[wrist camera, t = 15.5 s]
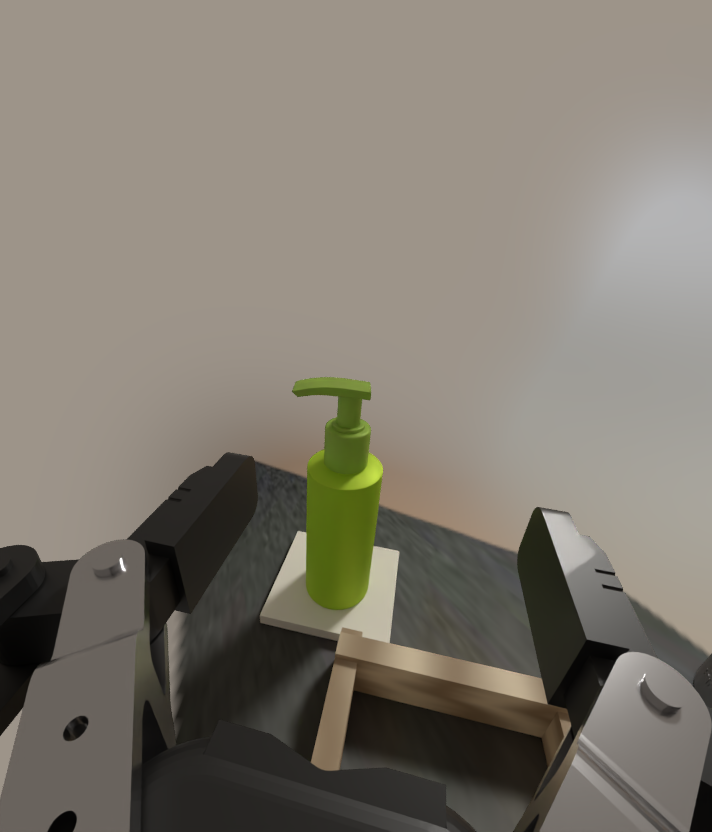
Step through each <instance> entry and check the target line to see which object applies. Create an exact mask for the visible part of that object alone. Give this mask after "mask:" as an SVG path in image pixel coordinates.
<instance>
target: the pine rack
mask: <svg viewBox="0 0 712 832" xmlns="http://www.w3.org/2000/svg"><path fill="white" fill-rule="evenodd" d="M362 634H363V632H361V631H357V630H352V629H348V628H344V627H342V630H341V632H340V636H339V640H338V645H337V649H336V653H335V660H334V665H333V669H332V673H331V678H330V682H329V686H328V691H327V695H326V699H325V704H324V708H323V712H322V717H321V721H320V725H319V729H318V734H317V738H316V742H315V747H314V751H313V755H312V760H311V763H312V764H314V765H315V766H317V767H318V768H320V769H322V770H327V771H333V770H340V766H341V760H342V755H343V749H344V743H345V737H346V732H347V726H348V720H349V714H350V709H351V703H352V697H353V691H358V692H362V693H366V694H370V695H374V696H378V697H382V698H386V699H390V700H394V701H398V702H402V703H406V704H410V705H414V706H418V707H422V708H426V709H430V710H433V711H437V712H441V713H445V714H449V715H453V716H457V717H461V718H465V719H469V720H473V721H477V722H481V723H485V724H489V725H493V726H497V727H501V728H505V729H509V730H513V731H517V732H521V733H525V734H529V735H533V736H537V737H541V738H542V742H543V747H544V752H545V756H546V761H547V766H548V767H549V765H550V763H551V761H552V759H553V757H554V755H555V753H556V751H557V749H558V747H559V745H560V743H561V742H562V740H563V738H564V736H565V734H566V732H567V730H568V729H569V727H570V726H571V723H570V719H569V715H568V711H567V709H565V708H560V707H556V706H552V705H548V704H547V699H546V695H545V690H544V686H543V681H542V678H537V677H533V676H529V675H524V674H520V673H516V672H511V671H507V670H503V669H498V668H494V667H490V666H486V665H481V664H477V663H473V662H468V661H464V660H460V659H455V658H451V657H447V656H442V655H438V654H434V653H430V652H425V651H421V650H417V649H412V648H408V647H404V646H399V645H395V644H391V643H386V642H382V641H378V640H374V639H369V638H365V637H362Z"/></svg>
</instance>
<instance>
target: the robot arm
mask: <svg viewBox="0 0 712 832" xmlns="http://www.w3.org/2000/svg"><path fill="white" fill-rule="evenodd" d="M257 501H258V493H257V481H256V469H255V461H254V458H253V457H252V456H247V455H241V454H235V453H229V452H228V453H226V454H224V455H223V456H222V457H221V458H220V459H219V460H218V462H217V463H216V464H215V465H214V466H213V467H211V466H206V467H204V468H202V469H200V470H199V471H197V472H195V473H193V474H191V475H190V476H189V477H188V478H187V479H186V480H185V481H184V482H183V483H182V484H181V485H180V486H179V488H178V490H175V491H174V492H173V493H172V494H171V495H170V496H169V498H168V500H165V501H164V502H163V503H162V504H161V505H160V506H159V507H158V508H157V509H156V510H155V511H154V512H153V513H152V514H151V515H150V516H149V517H148V518H147V519H146V520H145V522H143V523H142V524H141V525H140V527H138V529H136V531H135V532H134V533H133V534H132V535H131V536H130V537H129V538H128V539H126V540H124V539H123V540H116V541H111V542H107V543H105V544H102V545H100V546H98V547H96V548H94V549H92V550H91V551H89V552H87V554H85V555H84V556H82V557H81V558H80V559H79V560H66V561H52V562H41V560H40V558H39V556H38V554H37V552H36V551H35V549H34V548H31V547H29V546H25V545H14V546H7V547H3V548H0V736H1V734H2V733H3V732H4V731H5V729H6V728H7V727H8V726H9V724H10V723H11V722H12V721H13V719H14V718H15V717H16V716H17V714H18V713H19V712H20V711H21V709H22V708H23V710H22V715H21V718H20V723H19V726H18V730H17V734H16V738H15V743H14V746H13V750H12V754H11V758H10V762H9V766H8V770H7V774H6V778H5V783H4V787H3V790H2V794H1V798H0V832H476V831H475V830H474V829H473V827H472V826H471V825H470V824H469V823H468V822H466V821H465V820H464V819H463V818H462V817H461V816H460V815H458V814H457V813H456V812H455V811H453V810H452V809H451V808H449V807H448V806H446V785H445V784H441V783H438V782H434V781H431V780H427V779H424V778H421V777H417V776H414V775H410V774H407V773H403V772H400V771H396V770H393V769H389V768H369V769H351V770H333V771H327V770H322V769H320V768H318V767H317V766H315V765H314V764H312V763H311V762H309V761H308V760H307V759H305V758H304V757H302V756H301V755H300V754H298V753H297V752H295V751H294V750H293V749H291V748H290V747H288V746H287V745H286V744H284V743H283V742H281V741H280V740H279V739H277V738H276V737H274V736H273V735H272V734H269V733H265V732H262V731H258V730H255V729H251V728H248V727H245V726H241V725H238V724H234V723H231V722H227V721H224V720H220V719H219V721H218V723H217V725H216V728H215V730H214V732H213V734H212V737H204V738H199V739H195V740H190V741H187V742H185V743H182V744H179V745H176V739H175V730H174V723H173V718H172V712H171V703H170V682H169V656H168V633H167V632H168V631H167V624H166V622H167V620H168V619H169V618H170V616H171V614H172V613H173V612H174V610H176V611H181V612H185V613H189V614H191V613H192V611H193V609H194V608H195V606H196V605H197V603H198V602H199V600H200V598H201V597H202V595H203V594H204V592H205V591H206V589H207V587H208V586H209V584H210V583H211V581H212V580H213V578H214V576H215V575H216V573H217V572H218V570H219V569H220V567H221V565H222V564H223V562H224V561H225V559H226V558H227V556H228V555H229V553H230V551H231V550H232V548H233V547H234V545H235V544H236V542H237V540H238V539H239V537H240V536H241V534H242V533H243V531H244V529H245V528H246V526H247V525H248V523H249V522H250V520H251V518H252V517H253V515H254V513H255V510H256V506H257ZM517 565H518V573H519V577H520V582H521V586H522V591H523V596H524V600H525V605H526V609H527V614H528V618H529V623H530V627H531V632H532V636H533V641H534V645H535V650H536V654H537V659H538V663H539V668H540V672H541V677H542V681H543V686H544V690H545V695H546V699H547V704H548V705H552V706H556V707H560V708H565V709H567V711H568V715H569V719H570V723H571V726H570V727H569V729H568V730H567V732H566V734H565V736H564V738H563V740H562V742H561V743H560V745H559V747H558V749H557V751H556V753H555V755H554V757H553V759H552V761H551V763H550V765H549V767H548V769H547V771H546V772H545V774H544V776H543V778H542V780H541V782H540V784H539V786H538V788H537V790H536V792H535V794H534V796H533V798H532V800H531V801H530V803H529V805H528V807H527V809H526V811H525V812H524V814H523V816H522V818H521V819H520V821H519V822H518V824H517V826H516V827H515V829H514V831H513V832H712V654H711V655H710V656H709V657H708V658H707V659H706V661H705V662H704V663H703V664H702V665H701V666H700V668H699V669H698V670H697V672H696V674H695V677H694V687H693V686H692V685H691V684H690V683H689V682H688V681H687V680H686V679H685V678H684V677H683V676H682V675H681V674H680V673H679V672H677V671H676V670H675V669H673V668H672V667H671V666H669V665H668V664H666V663H664V662H663V661H661V660H659V659H658V657H657V655H656V653H655V651H654V649H653V647H652V645H651V643H650V641H649V639H648V637H647V635H646V633H645V631H644V629H643V627H642V625H641V623H640V621H639V619H638V617H637V615H636V613H635V611H634V609H633V607H632V605H631V603H630V601H629V599H628V597H627V595H626V593H624V592H623V587H622V585H621V583H620V581H619V579H618V577H617V576H615V571H614V569H613V567H612V565H611V563H610V561H609V559H608V557H607V555H606V553H605V552H604V551H603V550H602V549H601V548H600V547H599V546H598V545H597V544H596V543H595V542H594V541H593V540H592V539H591V538H590V537H589V536H585V535H579V533H578V530H577V528H576V526H575V524H574V521H573V519H572V517H571V515H570V514H569V513H568V512H563V511H557V510H552V509H546V508H540V507H537V508H535V510H534V511H533V513H532V516H531V518H530V521H529V523H528V526H527V529H526V532H525V534H524V537H523V539H522V542H521V545H520V547H519V551H518V559H517Z"/></svg>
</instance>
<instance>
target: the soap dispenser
mask: <svg viewBox="0 0 712 832" xmlns="http://www.w3.org/2000/svg"><path fill="white" fill-rule="evenodd" d="M292 392H293V393H294V394H295V395H296V396H297V397H301V396H308V395H329V396H338V413H337V417H336V418H333V419H331V420H330V421H328V422H327V423H326V426H325V447H324V450H321V451H319V452H318V453H316V454H314V455H313V456H312V457H311V458H310V460H309V462H308V466H307V531H306V588H307V591H308V594H309V595H310V597H311V598H312V599H313V600H314V601H315V602H316V603H317V604H319V605H320V606H322V607H324V608H327V609H332V610H343V609H348V608H351V607H353V606H355V605H356V604H358V603H359V602H360V601H361V600H362V599H363V598H364V596H365V595H366V593H367V590H368V585H369V577H370V570H371V562H372V554H373V546H374V538H375V530H376V522H377V514H378V506H379V498H380V490H381V482H382V475H383V467H382V465H381V462H380V461H379V460H378V459H377V458H376V457H375V456H374V455H372V454H371V453H369V444H370V434H371V428H370V425H369V424H368V423H367V422H366V421H364V420H362V419H360V417H361V406H362V399H365V400H370V399H371V386H370V382H365V381H358V380H352V379H345V378H334V377H320V378H310V379H305V380H300V381H297V382H296V383H295V385H294V388H293V390H292Z"/></svg>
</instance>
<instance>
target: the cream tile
mask: <svg viewBox="0 0 712 832" xmlns="http://www.w3.org/2000/svg"><path fill="white" fill-rule="evenodd" d="M398 558H399V551H396V550H391V549H386V548H381V547H376V546H373V554H372V562H371V570H370V577H369V585H368V590H367V593H366V595H365V596H364V598H363V599H362V600H361V601H360V602H359V603H358V604H356V605H355V606H353V607H351V608H348V609H343V610H332V609H327V608H324V607H322V606H320V605H319V604H317V603H316V602H315V601H314V600H313V599H312V598H311V597H310V595H309V594H308V591H307V588H306V533H305V532H300V531H298V532H297V534H296V537H295V539H294V541H293V543H292V546H291V548H290V550H289V552H288V554H287V557H286V559H285V561H284V563H283V565H282V568H281V570H280V572H279V574H278V576H277V579H276V581H275V583H274V585H273V587H272V590H271V592H270V594H269V596H268V598H267V601H266V603H265V605H264V607H263V609H262V612H261V614H260V623H263V624H267V625H271V626H276V627H280V628H284V629H288V630H292V631H297V632H301V633H305V634H309V635H314V636H318V637H322V638H326V639H331V640H335V641H338V640H339V636H340V632H341V630H342V627H344V628H348V629H352V630H357V631H361V632H363V634H362V637H365V638H369V639H374V640H378V641H382V642H386V643H389V642H390V633H391V623H392V614H393V605H394V595H395V586H396V577H397V567H398Z"/></svg>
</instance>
